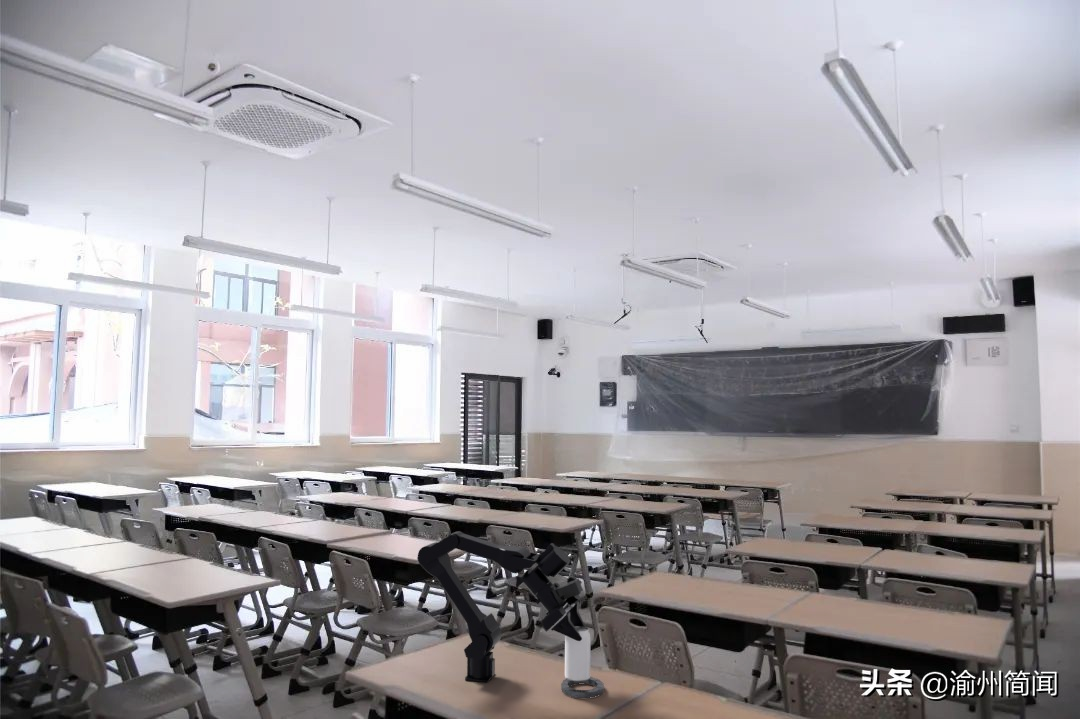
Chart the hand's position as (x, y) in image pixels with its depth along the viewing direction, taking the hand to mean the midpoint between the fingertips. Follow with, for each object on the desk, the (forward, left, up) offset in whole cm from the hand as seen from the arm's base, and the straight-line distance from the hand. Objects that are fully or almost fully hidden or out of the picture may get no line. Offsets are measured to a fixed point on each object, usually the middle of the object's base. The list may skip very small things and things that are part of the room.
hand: (583, 636), depth 176 cm
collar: (0, 0, -13) cm, 13 cm away
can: (-1, -1, -10) cm, 10 cm away
